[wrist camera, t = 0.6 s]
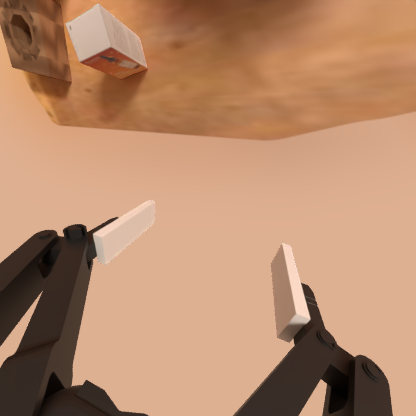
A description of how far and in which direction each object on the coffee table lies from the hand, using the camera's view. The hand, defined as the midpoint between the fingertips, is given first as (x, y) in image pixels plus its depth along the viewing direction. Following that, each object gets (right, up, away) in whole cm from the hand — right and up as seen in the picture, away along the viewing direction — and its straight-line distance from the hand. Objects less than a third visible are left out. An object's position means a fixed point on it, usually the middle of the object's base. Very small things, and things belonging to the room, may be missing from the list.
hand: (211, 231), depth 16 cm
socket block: (-40, +43, +24) cm, 64 cm away
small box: (-18, +36, +20) cm, 45 cm away
